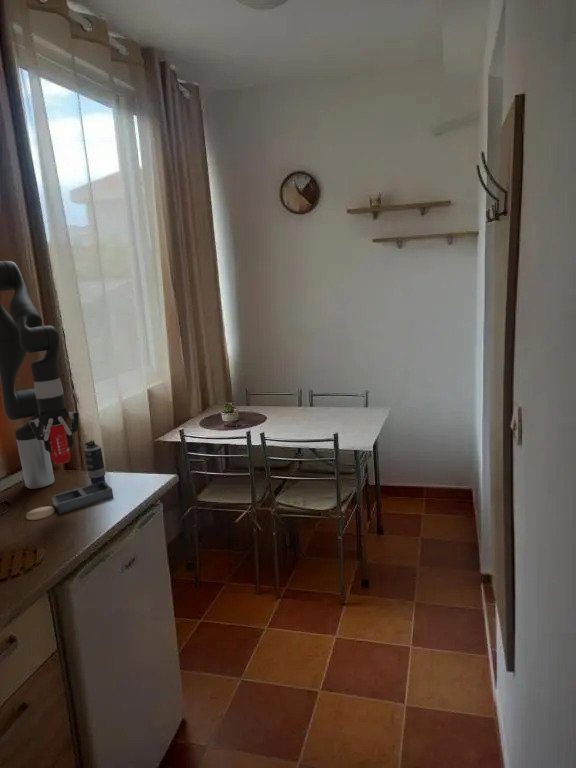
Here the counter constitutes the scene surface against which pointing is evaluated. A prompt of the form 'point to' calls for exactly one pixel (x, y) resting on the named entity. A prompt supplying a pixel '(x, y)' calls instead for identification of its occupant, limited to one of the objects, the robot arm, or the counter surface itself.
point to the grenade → (94, 462)
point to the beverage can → (59, 444)
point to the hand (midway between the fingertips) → (59, 448)
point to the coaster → (40, 513)
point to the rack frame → (82, 497)
